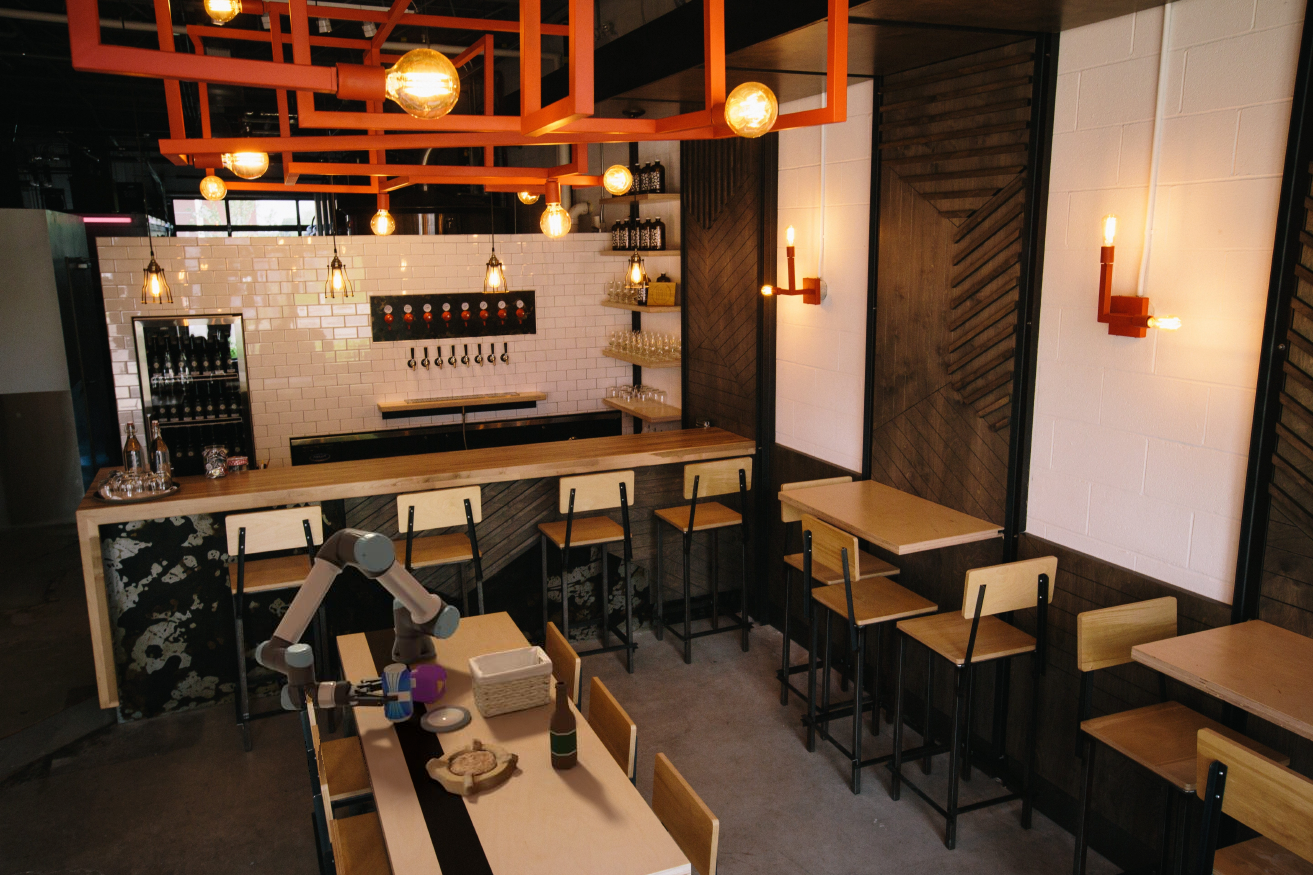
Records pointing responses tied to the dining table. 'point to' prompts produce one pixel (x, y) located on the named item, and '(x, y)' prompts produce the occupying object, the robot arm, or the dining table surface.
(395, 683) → the beer can
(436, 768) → the ashtray
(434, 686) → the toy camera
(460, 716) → the coaster plate
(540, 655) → the storage basket
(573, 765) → the beer bottle
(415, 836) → the dining table surface
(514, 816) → the dining table surface
